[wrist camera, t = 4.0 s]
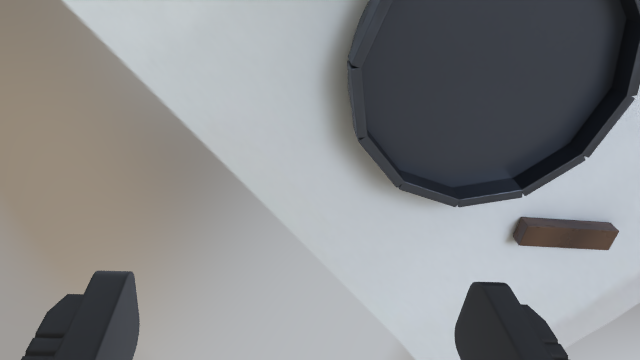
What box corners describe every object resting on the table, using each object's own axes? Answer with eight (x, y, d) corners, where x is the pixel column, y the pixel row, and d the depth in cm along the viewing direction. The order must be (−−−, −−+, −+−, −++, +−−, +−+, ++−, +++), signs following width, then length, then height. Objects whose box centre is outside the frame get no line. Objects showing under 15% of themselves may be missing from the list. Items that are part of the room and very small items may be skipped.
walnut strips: (512, 236, 38) (518, 245, 37) (688, -167, 24) (706, -169, 23) (599, 241, 39) (608, 250, 38) (815, -142, 26) (838, -143, 25)
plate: (305, 141, 32) (308, 160, 30) (434, -152, 24) (450, -156, 22) (515, 211, 37) (530, 231, 35) (683, -13, 29) (717, -5, 26)
